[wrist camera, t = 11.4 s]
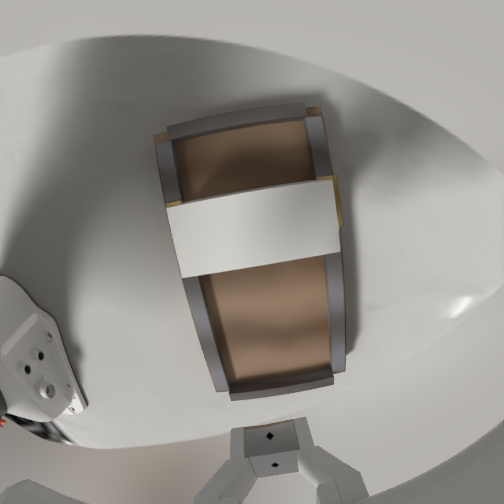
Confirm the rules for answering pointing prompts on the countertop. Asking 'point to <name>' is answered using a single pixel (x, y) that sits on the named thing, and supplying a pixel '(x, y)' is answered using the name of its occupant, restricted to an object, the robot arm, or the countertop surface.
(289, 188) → the fader tab
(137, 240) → the countertop surface
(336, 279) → the wooden serving tray
